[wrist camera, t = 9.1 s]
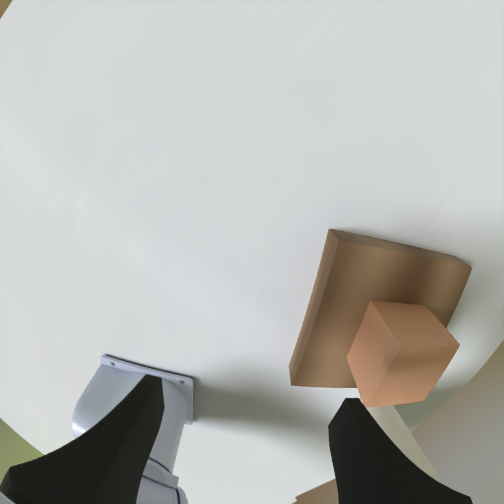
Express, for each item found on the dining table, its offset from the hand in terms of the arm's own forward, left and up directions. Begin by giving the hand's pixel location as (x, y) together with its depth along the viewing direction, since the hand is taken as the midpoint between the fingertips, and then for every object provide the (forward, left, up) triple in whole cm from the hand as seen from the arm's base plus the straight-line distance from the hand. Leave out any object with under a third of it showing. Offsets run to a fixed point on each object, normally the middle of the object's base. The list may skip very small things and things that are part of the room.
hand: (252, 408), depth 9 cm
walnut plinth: (+10, -1, -11) cm, 15 cm away
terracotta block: (+10, -1, -8) cm, 13 cm away
